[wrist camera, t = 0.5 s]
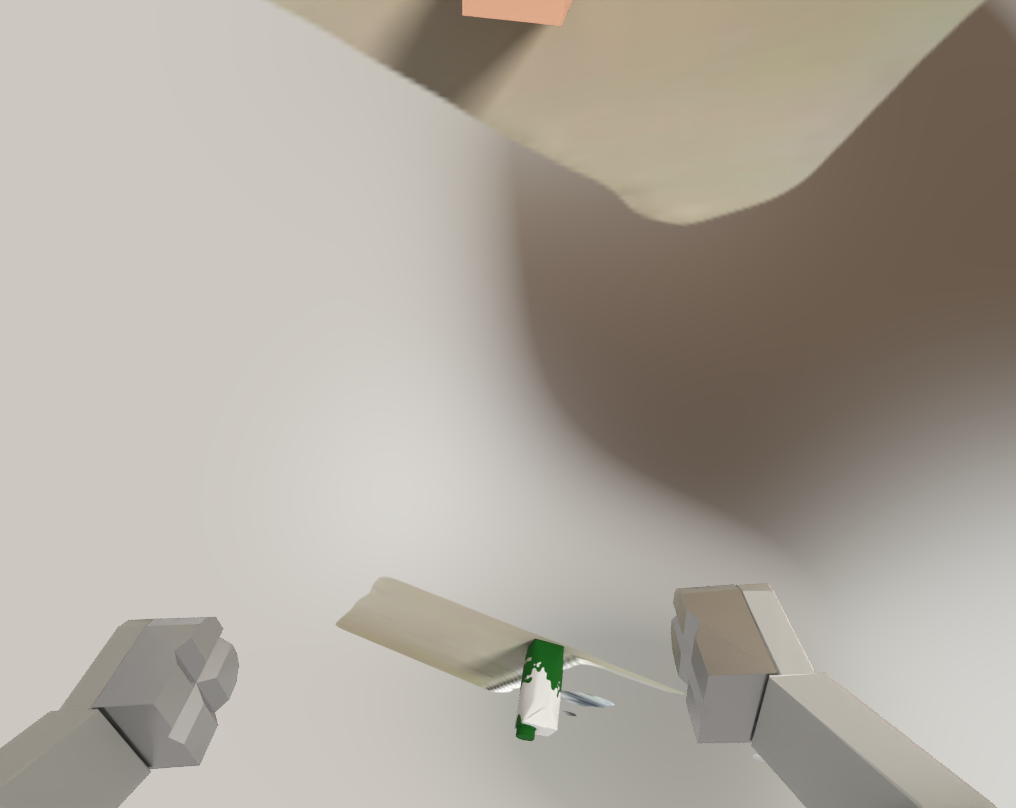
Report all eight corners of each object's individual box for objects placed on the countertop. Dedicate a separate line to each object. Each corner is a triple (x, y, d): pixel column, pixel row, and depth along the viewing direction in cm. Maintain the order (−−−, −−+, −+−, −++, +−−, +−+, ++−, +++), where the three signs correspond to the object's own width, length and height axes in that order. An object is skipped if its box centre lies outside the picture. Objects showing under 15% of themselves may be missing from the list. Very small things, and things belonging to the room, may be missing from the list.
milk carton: (532, 636, 130) (519, 730, 116) (569, 646, 131) (560, 741, 117) (523, 648, 136) (509, 739, 123) (557, 657, 137) (548, 749, 123)
